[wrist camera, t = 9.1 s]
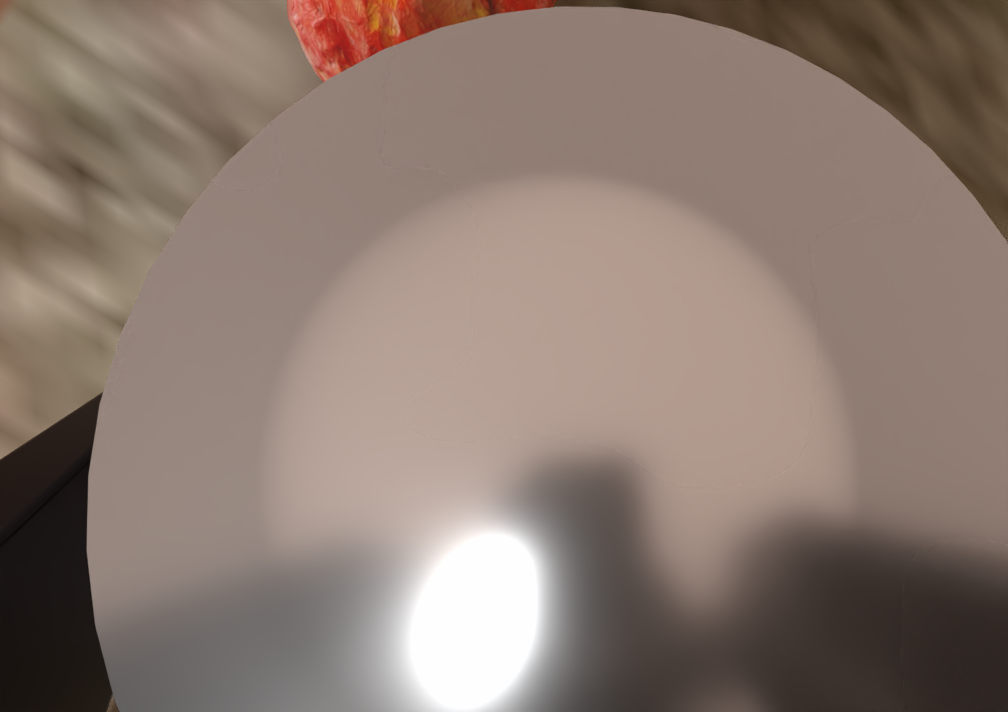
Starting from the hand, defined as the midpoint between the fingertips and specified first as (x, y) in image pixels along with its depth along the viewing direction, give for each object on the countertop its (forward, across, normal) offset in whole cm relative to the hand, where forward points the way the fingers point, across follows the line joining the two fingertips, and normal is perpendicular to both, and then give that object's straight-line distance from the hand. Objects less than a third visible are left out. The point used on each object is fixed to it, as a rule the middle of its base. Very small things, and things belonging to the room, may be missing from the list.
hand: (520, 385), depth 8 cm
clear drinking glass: (+5, 0, +6) cm, 8 cm away
